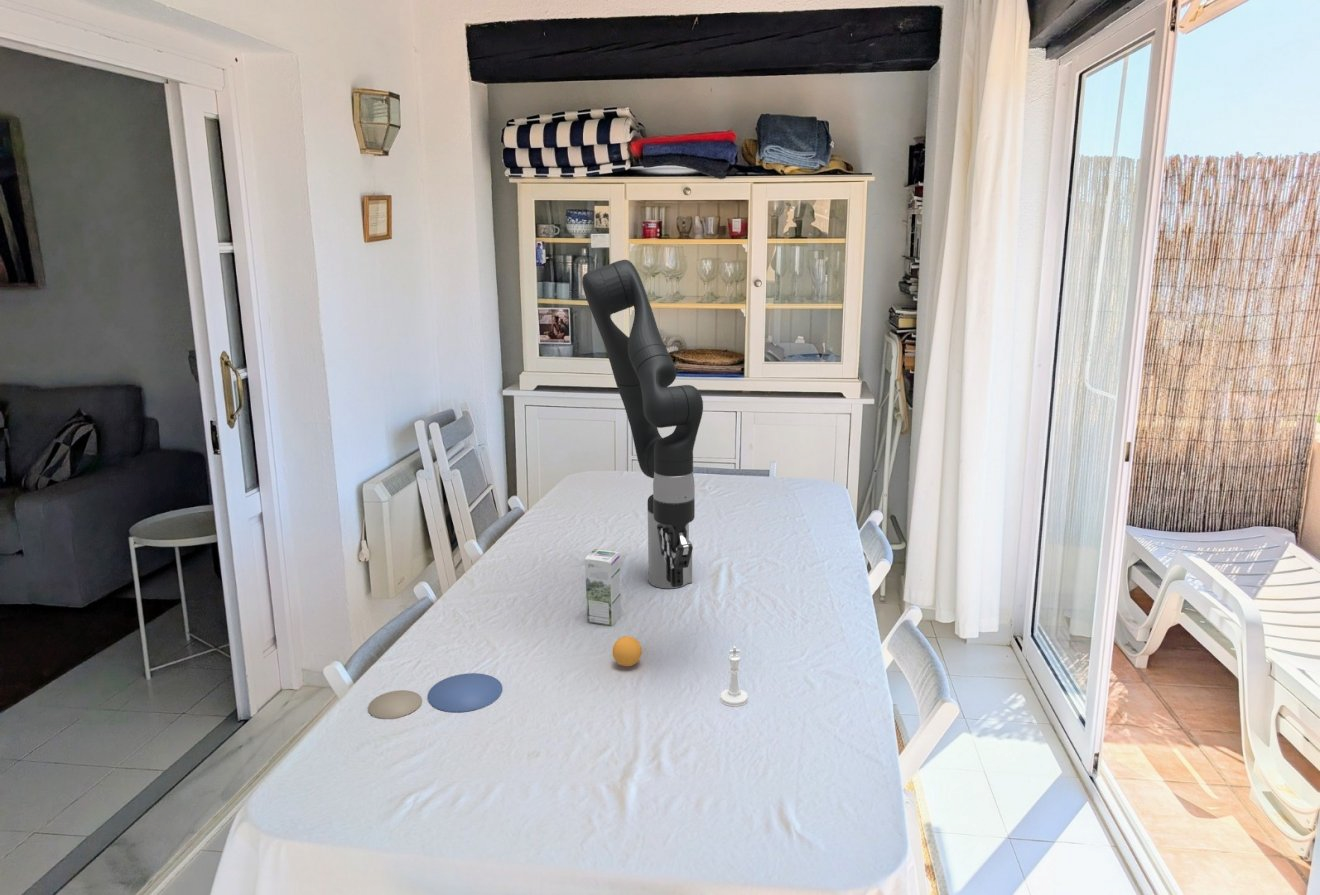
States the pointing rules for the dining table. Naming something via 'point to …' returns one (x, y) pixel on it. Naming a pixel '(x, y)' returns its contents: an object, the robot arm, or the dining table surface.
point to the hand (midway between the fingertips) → (674, 583)
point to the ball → (627, 651)
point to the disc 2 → (465, 692)
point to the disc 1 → (395, 704)
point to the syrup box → (603, 587)
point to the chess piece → (734, 684)
